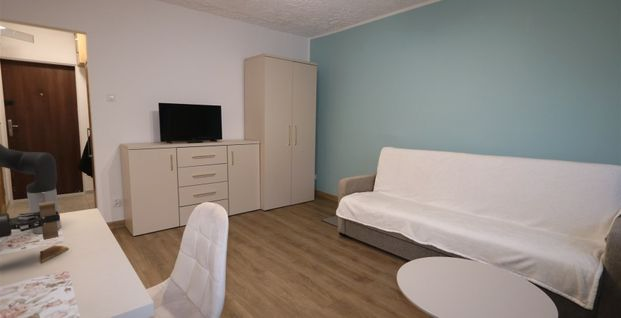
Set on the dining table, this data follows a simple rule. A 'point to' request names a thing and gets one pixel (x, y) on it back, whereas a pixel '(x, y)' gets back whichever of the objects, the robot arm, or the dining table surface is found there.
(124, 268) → the dining table surface
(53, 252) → the shard
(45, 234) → the pillar
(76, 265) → the dining table surface
